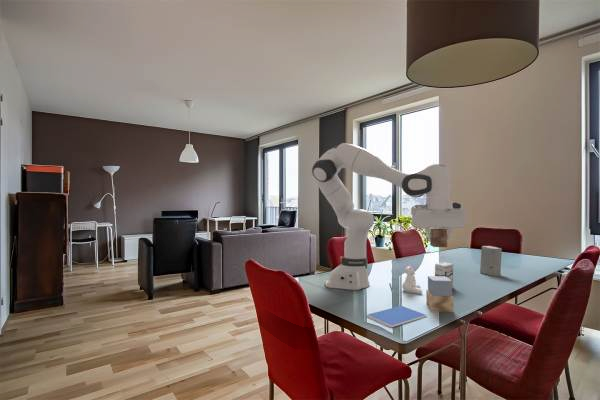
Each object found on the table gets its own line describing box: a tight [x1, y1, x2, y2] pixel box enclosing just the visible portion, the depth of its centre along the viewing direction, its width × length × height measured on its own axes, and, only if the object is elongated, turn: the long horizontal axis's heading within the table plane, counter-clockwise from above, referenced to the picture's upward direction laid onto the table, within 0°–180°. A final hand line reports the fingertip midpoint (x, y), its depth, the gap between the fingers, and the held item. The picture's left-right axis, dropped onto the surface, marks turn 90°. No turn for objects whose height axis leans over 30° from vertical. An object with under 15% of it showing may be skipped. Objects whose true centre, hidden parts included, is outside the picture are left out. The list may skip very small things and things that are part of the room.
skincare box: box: [479, 245, 503, 277], centre depth 176 cm, size 8×7×16 cm
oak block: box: [425, 289, 455, 313], centre depth 122 cm, size 8×8×6 cm
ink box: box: [434, 261, 454, 288], centre depth 150 cm, size 8×5×12 cm, turn 123°
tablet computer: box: [366, 305, 428, 328], centre depth 114 cm, size 19×13×1 cm, turn 121°
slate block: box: [427, 275, 453, 296], centre depth 122 cm, size 7×7×6 cm
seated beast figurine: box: [402, 265, 423, 295], centre depth 145 cm, size 10×9×12 cm
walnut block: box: [429, 228, 448, 248], centre depth 122 cm, size 5×5×7 cm
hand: (438, 239), depth 122 cm, fingers closed on walnut block, 5 cm apart
